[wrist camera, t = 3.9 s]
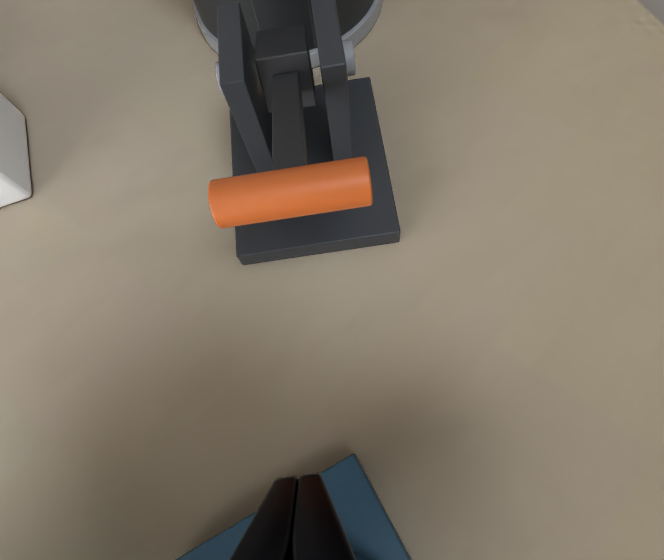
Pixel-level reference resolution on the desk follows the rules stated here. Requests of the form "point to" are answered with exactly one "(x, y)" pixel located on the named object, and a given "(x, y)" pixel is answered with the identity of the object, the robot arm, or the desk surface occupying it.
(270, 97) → the switch lever
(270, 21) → the kettle
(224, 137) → the desk surface
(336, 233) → the switch base
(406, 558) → the blue button base
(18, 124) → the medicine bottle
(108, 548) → the desk surface
